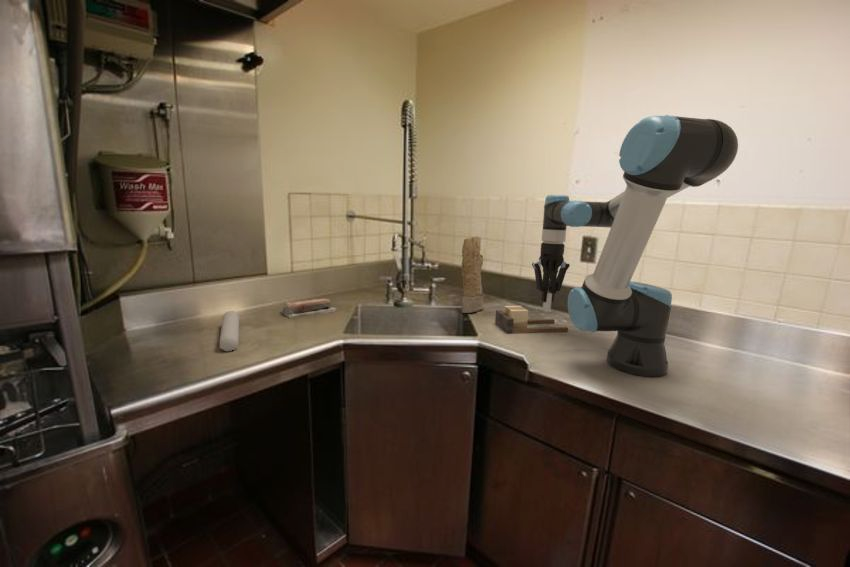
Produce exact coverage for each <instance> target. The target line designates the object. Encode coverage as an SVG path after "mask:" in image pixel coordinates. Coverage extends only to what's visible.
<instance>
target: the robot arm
mask: <svg viewBox="0 0 850 567" xmlns="http://www.w3.org/2000/svg"><path fill="white" fill-rule="evenodd" d="M738 141H739V140H738V137H737V134H736V132H735V131H734V129H733V128H732V127H731V126H729V125H728V124H727V123H726V122H723V121H721V120H717V119H713V118H696V117H687V116H678V115H677V116H676V115H670V114H669V115H668V114H666V115H651V116H647V117H645V118H642V119H641V120H639V122H637V123H635V124H634V125H633V126H632V127H631V128H630V129H629V131H628V132H627V134H626V136H625V137H624V139H623V140H622V143H621V146H620V149H619V154H618V155H619V160H618V162H619V166H620V168H621V171H623V175H622V179H623V180H624V182H625V183H626V187H625V190H624V191H622V192H620V193H619V194H618V195H616V196H614V197H613V198H612V199H610V200H608V201H605V202H604V201H582V200H575V199H574V200H570V197H569V195H566V194H565V195H564V194H549V195H547V196H545V200H544V206H543V220H542V221H543V222H542V231H541V232H542V233H541V241H542V242H541V244H540V252H539V253H540V256H539V258H538V260H537V261H536V262H532V264H531V266H532V267H533V269H534V278H535V284H536V290H537V291H540V292H541V300H540V301H541V302H543V303H542V311H543V312H545V313H551V308H552V303H553V302H554V299H555V294H557V292H560V291H561V288H562V285H563V283H564V279H565V276H566V273H567V271H568V270H569V268H570V263H567V262H566V261H565V258H564V255H565V247H566V246H565V242H566V235H567V227H571V228H574V227H575V228H579V227H587V228H589V227H590V228H592V227H593V228H595V227H596V228H610V230H609V232H608V235H607V237H606V240H605V243H604V245H603V248H602V250H601V254H600V256H599V258H598V261H597V263H596V265H595V268H594V271H593V273H591V274H587V275H586V276H585V278H584V281H583V282H582V286H581V287H580V286H575V287H574V288H572V289H571V290H570V291H569V293H568V296H567V310H568V315H569V317H570V318H569V319H570V320H571V323H572V324H573V326H574V327H575V328H577V329H578V330H579V331H581V332H591V333H596V332H616V336H615V338H614V341H613V342H612V344H611V346H610V348H609V349H608V351H607V354H606V363H608V364H609V366H612V367H613V368H614V369H617V370H618V371H620V372H621V371H622V372H624V373H628V374H632V375H636V376H640V377H641V376H642V377H649V378H650V377H651V378H653V377H654V378H655V377H662V376H665V375H667V373H668V368H669V362H668V360H667V359H668V357H667V352H666V345H665V341H666V336H667V332H668V331H667V330H668V324H669V319H670V316H671V310H672V308H673V307H672V301H673V294H672V292H671V291H670V290H669V289H666V288H663V287H660V286H658V285H657V286H656V285H652V284H647V283H643V282H639V281H638V282H637V281H631V280H632V277H633V276H634V273H635V272H636V270H637V266H638V265H639V262H640V260H641V258H642V256H643V253H644V252H645V248H646V247H647V245H648V243H649V240H650V238H651V235H652V233H653V231H654V229H655V226H656V224H657V222H658V220H659V217H660V216H661V213H662V211H663V208H664V207H665V204H666V203H667V202H666V201H667V199H668V198H670V197H672V196H675V194H678V193H680V192H681V191H684V190H685V189H688V188H690V187H691V188H696V187H701V186H702V185H704V184H707V183H708V182H711V181H713V180H714V179H716V178H717V177H719V176H720V175H722V174H723V173H725V172H726V171H727V170H728V169H729V168H730V166H732V164H733V162H734V161H735V159H736V156H737V154H738V150H739V142H738ZM541 267H542V268H541ZM542 272H543V273H542Z"/></svg>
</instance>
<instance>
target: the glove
mask: <svg viewBox="0 0 850 567" xmlns="http://www.w3.org/2000/svg"><path fill="white" fill-rule="evenodd" d="M481 240H482V239H481V237H479V236H478V235H476V236H472V237H471V238H465V239H463V243H462V244H463V245H462V248H461V249H462V250H461V255H462V256H461V257H462V259H461V260H462V261H461V276H462V285H463V286H462V290H463V291H462V292H463V294H462V297H461V299H462V302H461V303H462V308H461V313H462V314H468V313H475V312H478V311H482V310H483V309H484V307H485V306H484V298H485V294H484V293H483V287H482V274H481V271H482V269H483V268H482V267H483V262H484V256H483V254H481V245H482V244H481V242H482V241H481Z"/></svg>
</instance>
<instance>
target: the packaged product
mask: <svg viewBox="0 0 850 567" xmlns="http://www.w3.org/2000/svg"><path fill="white" fill-rule="evenodd" d="M280 312H281V313H282V314H283V315H284V316H285V317H287V318H289V320H291V319H298V318H305V317H311V316H312V317H313V316H318V315H323V314H324V315H325V314H330V313H336V312H337V308H336V307H334V306H333V307H332V301H331V300H330V299H329V298H316V299H315V298H314V299H306V300H299V301H298V300H297V301H289V302H284V304H283V306H282V309H281V310H280Z"/></svg>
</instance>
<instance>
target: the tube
mask: <svg viewBox="0 0 850 567" xmlns="http://www.w3.org/2000/svg"><path fill="white" fill-rule="evenodd" d="M240 317H241V316H240V314H239V312H236V311H235V310H232V311H226V312H225V313H224V314H223V315H222V322H221V329H220V337H219V349H220V350H223V351H224V352H232V350H234V351H235V350H236V349H237V348H238V346H239V341H240V340H239V333H240V332H239V329H240V319H241V318H240Z"/></svg>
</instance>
